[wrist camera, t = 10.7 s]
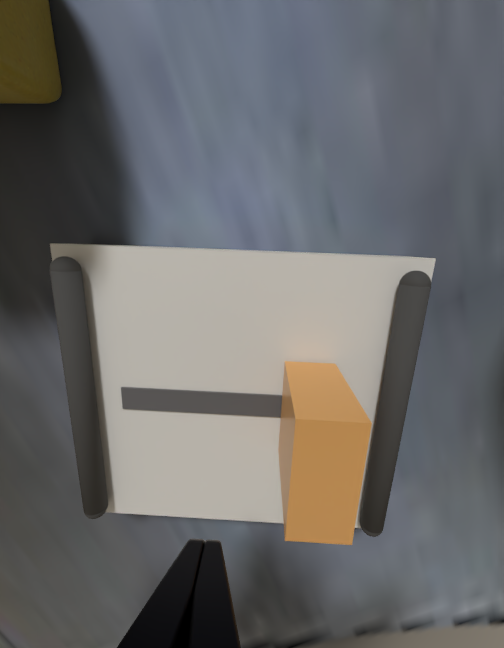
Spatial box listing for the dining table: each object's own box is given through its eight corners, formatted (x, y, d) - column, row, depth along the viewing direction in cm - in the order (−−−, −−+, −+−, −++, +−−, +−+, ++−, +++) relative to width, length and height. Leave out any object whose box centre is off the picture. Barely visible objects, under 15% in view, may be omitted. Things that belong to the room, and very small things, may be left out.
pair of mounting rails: (424, 269, 13) (440, 272, 12) (376, 522, 16) (385, 543, 15) (59, 255, 13) (40, 256, 12) (92, 504, 17) (80, 523, 16)
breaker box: (403, 256, 16) (436, 258, 13) (364, 487, 19) (383, 530, 16) (88, 243, 16) (48, 243, 13) (112, 472, 20) (85, 512, 17)
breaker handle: (335, 363, 14) (371, 423, 9) (324, 453, 15) (351, 545, 10) (284, 361, 14) (295, 418, 9) (278, 450, 15) (284, 540, 11)
